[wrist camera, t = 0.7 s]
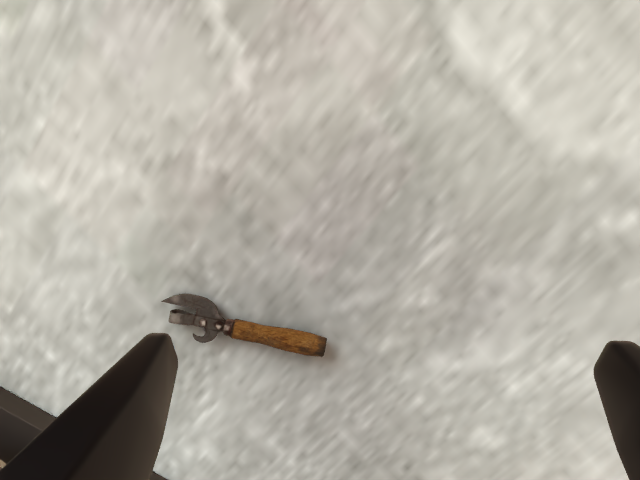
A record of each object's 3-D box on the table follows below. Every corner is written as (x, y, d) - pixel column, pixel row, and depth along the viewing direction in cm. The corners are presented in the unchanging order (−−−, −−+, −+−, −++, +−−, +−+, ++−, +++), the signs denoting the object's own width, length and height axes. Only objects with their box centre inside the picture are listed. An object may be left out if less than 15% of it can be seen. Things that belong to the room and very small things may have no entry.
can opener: (329, 334, 24) (329, 344, 23) (316, 371, 24) (315, 382, 23) (167, 283, 24) (159, 290, 22) (158, 321, 24) (149, 330, 23)
